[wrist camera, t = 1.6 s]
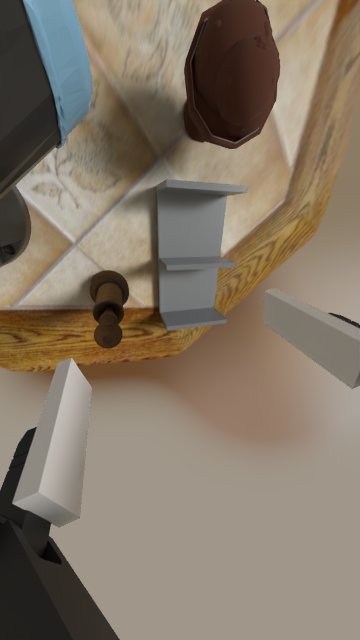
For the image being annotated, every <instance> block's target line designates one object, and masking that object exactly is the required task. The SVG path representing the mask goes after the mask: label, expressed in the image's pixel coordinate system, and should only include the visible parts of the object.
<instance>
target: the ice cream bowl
mask: <svg viewBox="0 0 360 640" xmlns="http://www.w3.org/2000/svg"><path fill="white" fill-rule="evenodd" d="M184 74H185V84H186V94H187V104H186V106H185V109H184V120H185V128H186V129H187V131H188V132H189V134H190V135H191V137H192V138H193V139H194V140H197V141H200V142H205V141H206V142H209V143H212V144H216V145H219V146H222V147H225V148H228V149H236V148H238V147H239V146H241V145H242V144H244V143H246V142H247V141H249V140H250V139H252V138H254V137H255V136H257V135H259V134H260V132H261V130H262V128H263V126H264V124H265V122H266V120H267V118H268V116H269V114H270V112H271V110H272V108H273V105H274V103H275V101H276V96H277V81H278V79H279V76H280V59H279V53H278V50H277V47H276V44H275V41H274V39H273V36H272V29H271V26H270V21H269V16H268V12H267V8H266V7H265V6H264V5H263V4H262V3H261V2H259V1H258V0H256V1H255V0H222V1H221V2H219V3H218V4H216V5H214V6H213V7H211V8H209V9H208V10H206V11H204V12H203V13H202V15H201V18H200V21H199V23H198V26H197V29H196V32H195V35H194V38H193V41H192V44H191V47H190V49H189V52H188V55H187V58H186V62H185V68H184Z"/></svg>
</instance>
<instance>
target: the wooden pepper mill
mask: <svg viewBox="0 0 360 640" xmlns="http://www.w3.org/2000/svg"><path fill="white" fill-rule="evenodd" d="M90 294H91V297H92V299H93V301H94V302H95V306H94V310H93V316H94V319H95V320H96V321H97V322H98V323H99V325H98V326H97V328H96V329H95V332H94V338H95V341H96V343H97V344H98V345H99V346H101V347H103V348H113V347H115V346H116V345H118V344H119V343H120V341H121V339H122V330H121V328H120V326H119V325H118V323H120V322H121V321H122V319H123V316H124V311H123V305H124V304H125V302H126V301H127V299H128V296H129V288H128V284H127V282H126V280H125V279H124V277H123V276H122V275H120V274H119V273H117V272H114V271H109V270H108V271H102V272H100V273H98V274H96V275H95V276H94V278H93V280H92V282H91V286H90Z"/></svg>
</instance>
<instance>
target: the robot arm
mask: <svg viewBox="0 0 360 640" xmlns="http://www.w3.org/2000/svg"><path fill="white" fill-rule="evenodd" d="M92 88H93V86H92V74H91V68H90V62H89V57H88V53H87V49H86V45H85V41H84V37H83V33H82V30H81V26H80V23H79V19H78V16H77V13H76V10H75V7H74V3H73V0H0V267H1V266H3V265H6V264H8V263H10V262H12V261H14V260H15V259H16V258H18V257H19V256H20V255H21V254H22V253H23V252H24V250H25V249H26V247H27V245H28V243H29V240H30V235H31V220H30V215H29V211H28V208H27V206H26V203H25V201H24V199H23V197H22V195H21V193H20V192H19V190H18V189H17V187H16V186H15V185H16V184H17V183H18V182H19V181H20V180H21V179H22V178H23V177H24V176H25V175H27V174H28V173H29V172H30V171H31V170H32V169H33V168H34V167H35V166H36V165H37V164H38V163H39V162H40V161H41V160H42V159H43V158H44V157H45V156H46V155H47V154H48V153H50V152H51V151H52V150H53V149H54V148H55V147H56V148H61V147H62V146H63V145H64V143H65V141H66V137H67V135H68V134H69V133H70V132H71V131H72V130H73V129H74V128H75V127H76V125H77V124H78V123H79V122H80V121H81V120H82V119H83V118H84V117H85V116H86V114H87V113H88V111H89V109H90V105H91V95H92ZM264 300H265V301H264V324H265V325H266V326H268V327H269V328H270V329H272V330H273V331H274V332H276V333H277V334H278V335H280V336H281V337H282V338H284V339H285V340H287V341H288V342H289V343H291V344H292V345H294V346H295V347H296V348H297V349H299V350H300V351H302V352H303V353H304V354H305V355H307V356H308V357H310V358H311V359H312V360H314V361H315V362H316V363H318V364H319V365H320V366H322V367H323V368H324V369H326V370H327V371H328V372H330V373H331V374H333V375H334V376H335V377H337V378H338V379H339V380H341V381H342V382H343V383H345V384H346V385H347V386H349V387H350V388H351V389H353V388H356V387H358V386H360V325H359V324H358V323H356V322H354V321H351V320H350V319H347V318H345V317H343V316H341V315H336V314H333V313H326V312H324V311H322V310H320V309H318V308H316V307H313V306H311V305H309V304H307V303H305V302H303V301H301V300H299V299H297V298H294V297H292V296H290V295H288V294H286V293H284V292H282V291H280V290H278V289H276V288H273V289H270V290H267V291H265V299H264ZM91 391H92V387H91V386H90V385H89V383H88V382H87V380H86V379H85V377H84V376H83V374H82V373H81V371H80V370H79V368H78V367H77V365H76V364H75V362H74V361H73V359H72V358H70V359H67V360H64V361H61V362H58V364H57V367H56V371H55V374H54V377H53V380H52V383H51V386H50V389H49V392H48V395H47V398H46V401H45V404H44V407H43V410H42V414H41V416H40V420H39V423H38V426H37V427H35V428H33V429H30V430H28V431H27V432H26V433H25V435H24V436H23V438H22V439H21V441H20V442H19V444H18V446H17V448H16V451H15V454H14V456H13V457H14V459H13V460H12V462H11V464H10V467H9V471H8V472H7V475H6V477H5V480H4V482H3V485H2V488H1V490H0V640H120V639H119V638H118V637H117V635H116V634H115V632H114V630H113V629H112V628H111V626H110V624H109V623H108V621H107V620H106V618H105V617H104V615H103V614H102V612H101V611H100V609H99V608H98V607H97V605H96V604H95V602H94V601H93V599H92V597H91V596H90V594H89V593H88V591H87V590H86V588H85V587H84V585H83V584H82V582H81V581H80V579H79V578H78V576H77V575H76V573H75V572H74V570H73V569H72V567H71V566H70V564H69V563H68V561H67V560H66V558H65V557H64V555H63V554H62V552H61V551H60V549H59V548H58V546H57V545H56V543H55V542H54V540H53V539H52V538H51V537H49V531H50V526H51V524H53V525H55V526H57V527H61V526H64V525H66V524H68V523H70V522H72V521H74V520H76V519H78V518H80V509H81V499H82V488H83V477H84V465H85V455H86V445H87V434H88V423H89V412H90V402H91Z"/></svg>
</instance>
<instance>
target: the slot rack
mask: <svg viewBox="0 0 360 640" xmlns="http://www.w3.org/2000/svg"><path fill="white" fill-rule="evenodd" d="M247 189H248V186H241V185H229V184H216V183H204V182H192V181H179V180H167V179H166V180H165V181H163V182H162V183H160V184H159V185H157V186H156V205H157V248H158V290H159V315H160V317H161V319H162V321H163V323H164V325H165V327H166V330H167V331H168V330H176V329H184V328H192V327H200V326H207V325H215V324H223V323H227V319H226V318H225V317H224V316H223V315H222V314H221V313H220V312H219V311H218V310H216V309H215V308H214V302H215V293H216V285H217V276H218V268H235V266H236V263H235V262H233V261H230V260H228V259H225V258H223V257H220V251H221V242H222V233H223V225H224V216H225V208H226V199H227V196H229V195H236V194H242V193H247Z"/></svg>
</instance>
